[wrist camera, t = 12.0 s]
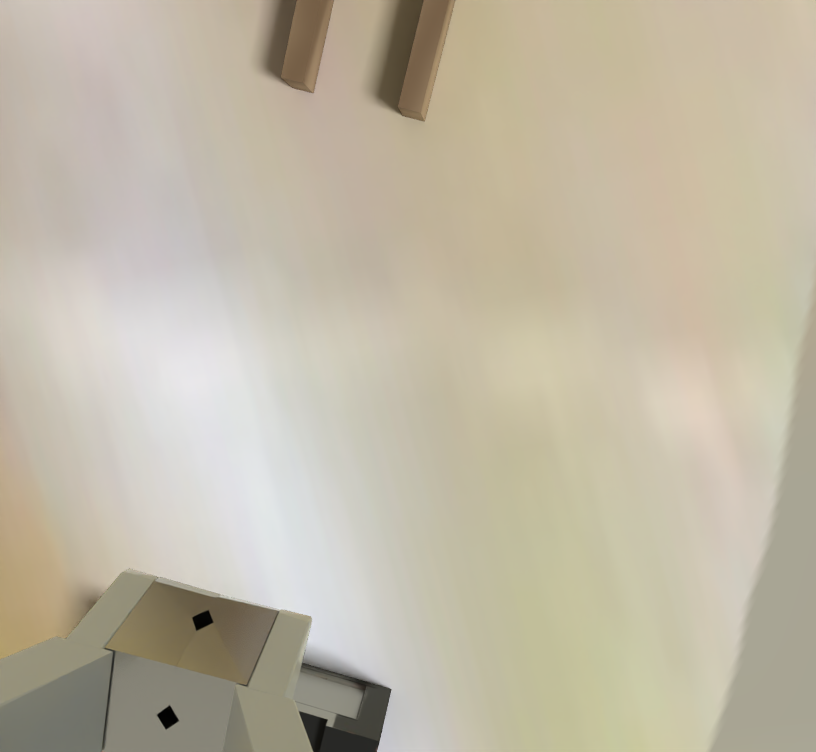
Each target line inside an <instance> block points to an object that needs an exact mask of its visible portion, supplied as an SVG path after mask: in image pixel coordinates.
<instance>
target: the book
mask: <svg viewBox="0 0 816 752" xmlns="http://www.w3.org/2000/svg"><path fill="white" fill-rule="evenodd" d="M390 693H391V689H389V688H386V687H382V686H379V685H375V684H372V683H369V682H365V681H362V680H358V679H355V678H352V677H348V676H345V675H341V674H338V673H334V672H331V671H328V670H324V669H321V668H317V667H314V666H311V665H307V664H304V663H302V665H301V669H300V673H299V677H298V681H297V685H296V688H295V692H294V696H293V700H295V703H296V706H297V708H298V711H299V714H300V717H301V720H302V722H303V725H304V728H305V731H306V733H307V736H308V739H309V742H310V744H311V747H312V750H313V752H377V749H378V745H379V741H380V737H381V733H382V728H383V724H384V719H385V715H386V711H387V706H388V702H389V697H390ZM101 752H102V751H101Z"/></svg>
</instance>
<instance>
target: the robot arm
mask: <svg viewBox="0 0 816 752" xmlns="http://www.w3.org/2000/svg"><path fill="white" fill-rule="evenodd" d="M311 622H312V618H311V616H307V615H303V614H299V613H294V612H290V611H286V610H282V609H281V610H279V609H275V608H272V607H268V606H264V605H260V604H256V603H252V602H248V601H244V600H240V599H236V598H233V597H229V596H225V595H220V594H217V593H214V592H211V591H207V590H204V589H200V588H197V587H193V586H190V585H187V584H183V583H180V582H176V581H173V580H169V579H166V578H162V577H157V576H153V575H150V574H146V573H143V572H140V571H136V570H133V569H128V570H126V571H124V572H122V573H121V574H120V575H119V576H118V577H117V578H116V580H115V581H114V582H113V583H112V584H111V586H110V587H109V588H108V589H107V590H106V591H105V593H104V594H103V595H102V596H101V597H100V599H99V600H98V601H97V602H96V603H95V604H94V606H93V607H92V608H91V609H90V610H89V612H88V613H87V614H86V615H85V616H84V617H83V619H82V620H81V621H80V622H79V623H78V625H77V626H76V627H75V628H74V629H73V631H72V632H71V633H70V634H69V635H68V636H67V638H66V639H64V638H60V637H53V638H51V639H48V640H46V641H44V642H41V643H39V644H36V645H34V646H32V647H29V648H27V649H24V650H22V651H20V652H17V653H15V654H12V655H10V656H8V657H5V658H3V659H0V752H101V751H102V752H313V750H312V747H311V744H310V742H309V739H308V736H307V733H306V731H305V728H304V725H303V722H302V720H301V717H300V714H299V711H298V708H297V706H296V703H295V700H293V696H294V692H295V688H296V685H297V681H298V677H299V673H300V669H301V665H302V661H303V657H304V652H305V648H306V644H307V640H308V636H309V632H310V628H311Z"/></svg>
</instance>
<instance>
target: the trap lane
mask: <svg viewBox="0 0 816 752" xmlns="http://www.w3.org/2000/svg"><path fill="white" fill-rule="evenodd" d="M333 2H334V0H297V1H296V6H295V11H294V16H293V21H292V25H291V30H290V35H289V40H288V44H287V49H286V54H285V59H284V64H283V68H282V73H281V78H282V79H283V80H284V81H285V82H286V83H287V84H289V85H290V86H291V87H292V88H295V89H299V90H303V91H307V92H311V93H314V88H315V84H316V79H317V75H318V70H319V66H320V61H321V56H322V52H323V47H324V43H325V38H326V34H327V29H328V25H329V20H330V15H331V11H332V6H333ZM454 3H455V0H424V1H423V5H422V9H421V14H420V18H419V22H418V26H417V30H416V34H415V38H414V42H413V46H412V50H411V54H410V59H409V63H408V67H407V71H406V75H405V79H404V83H403V87H402V91H401V95H400V99H399V104H398V108H399V110H400V112H401V113H402V115H403V116H405V117H409V118H413V119H417V120H421V121H425V118H426V114H427V110H428V106H429V102H430V98H431V94H432V90H433V86H434V82H435V78H436V74H437V70H438V66H439V62H440V58H441V55H442V51H443V47H444V43H445V39H446V35H447V31H448V27H449V23H450V19H451V15H452V11H453V7H454Z"/></svg>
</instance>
